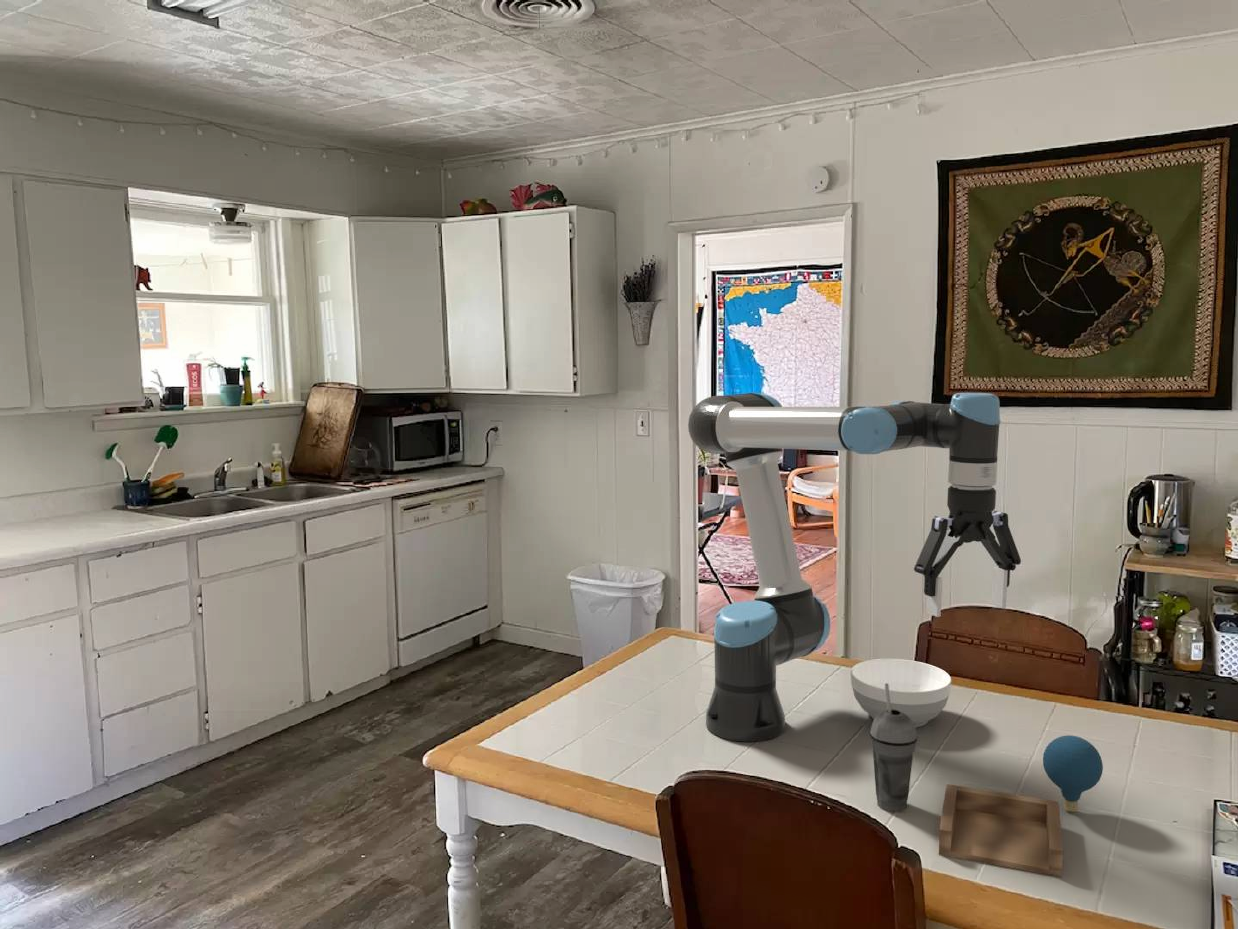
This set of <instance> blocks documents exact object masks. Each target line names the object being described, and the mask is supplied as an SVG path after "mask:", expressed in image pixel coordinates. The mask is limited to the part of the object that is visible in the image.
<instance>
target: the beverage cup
mask: <svg viewBox="0 0 1238 929" xmlns="http://www.w3.org/2000/svg"><path fill="white" fill-rule="evenodd" d="M885 690H886V699H887V709H888V710H886V711H883V712H881V713H880V714H879V715H878V716H877V717H876V718H875V719H873V721H872V723H871V728H870V732H869V737H870V744H871V748H872V755H873V769H874V772H873V773H874V785H875V795H876V800H877V801H876V804H877V806H878V807H879V808H880V809H881V810H883V811H886V812H891V813H900V812H904V811H905V810H906V809H907V803H908V800H909V794H910V793H909V792H910V785H911V784H910V783H911V774H912V767H913V766H912V765H913V760H914V759H913V757H914V753H915V750H916V744H917V742H918V735H917V730H916V728H917V727H915V726H914V724H913V722H912V720H911V719H910V718H909V717H908V716H907V715H906V714H905V713H903V712H901V711H898V710H891V705H890V696H889V686H888V683H886V684H885Z"/></svg>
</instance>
